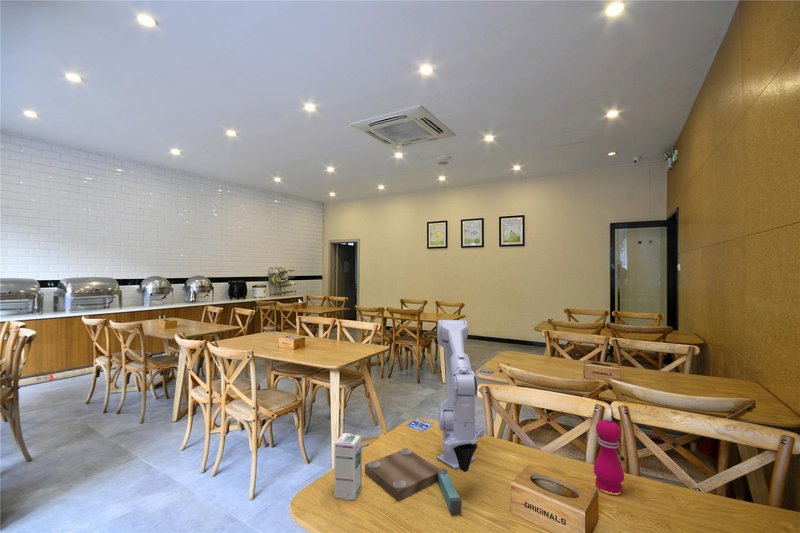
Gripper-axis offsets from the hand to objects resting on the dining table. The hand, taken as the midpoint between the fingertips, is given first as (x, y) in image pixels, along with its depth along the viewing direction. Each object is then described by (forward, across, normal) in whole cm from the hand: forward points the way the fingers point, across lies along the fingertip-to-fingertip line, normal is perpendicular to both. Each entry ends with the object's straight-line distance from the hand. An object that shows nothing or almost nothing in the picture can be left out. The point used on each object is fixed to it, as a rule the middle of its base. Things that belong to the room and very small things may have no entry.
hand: (463, 469), depth 93 cm
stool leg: (+6, -5, +1) cm, 7 cm away
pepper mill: (+6, +33, -23) cm, 41 cm away
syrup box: (+6, -25, +19) cm, 32 cm away
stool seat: (+6, -8, +16) cm, 19 cm away
